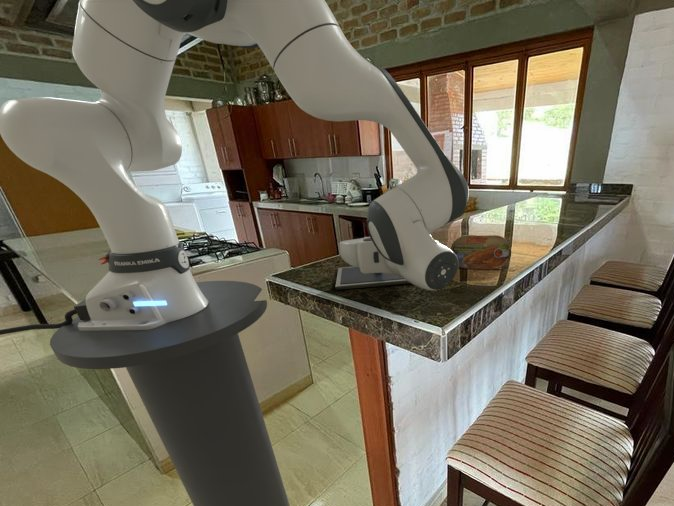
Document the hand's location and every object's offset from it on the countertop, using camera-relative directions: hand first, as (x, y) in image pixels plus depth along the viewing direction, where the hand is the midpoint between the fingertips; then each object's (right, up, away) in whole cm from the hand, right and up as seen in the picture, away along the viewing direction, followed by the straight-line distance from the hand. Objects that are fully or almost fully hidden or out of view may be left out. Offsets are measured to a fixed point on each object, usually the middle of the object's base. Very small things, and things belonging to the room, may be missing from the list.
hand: (373, 239), depth 79 cm
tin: (+26, -6, +7) cm, 28 cm away
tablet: (0, -9, +3) cm, 9 cm away
